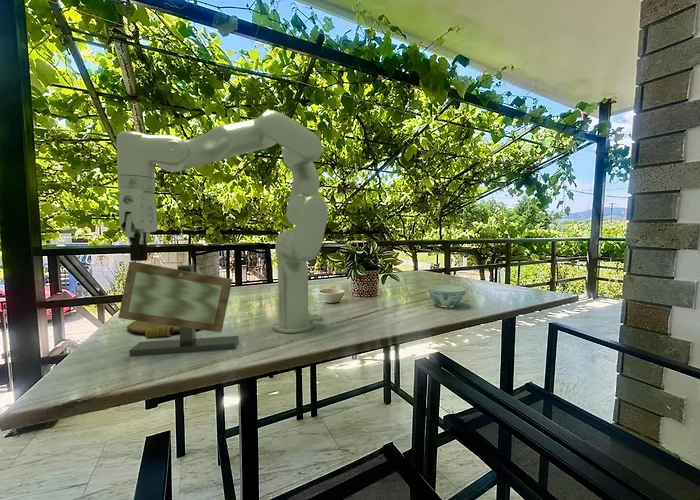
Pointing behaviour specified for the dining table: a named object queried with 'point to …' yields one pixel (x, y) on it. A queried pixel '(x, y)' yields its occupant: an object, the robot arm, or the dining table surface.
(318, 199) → the robot arm
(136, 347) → the frame post
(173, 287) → the picture frame
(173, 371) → the dining table surface
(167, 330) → the decorative disc
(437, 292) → the chinaware
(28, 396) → the dining table surface
